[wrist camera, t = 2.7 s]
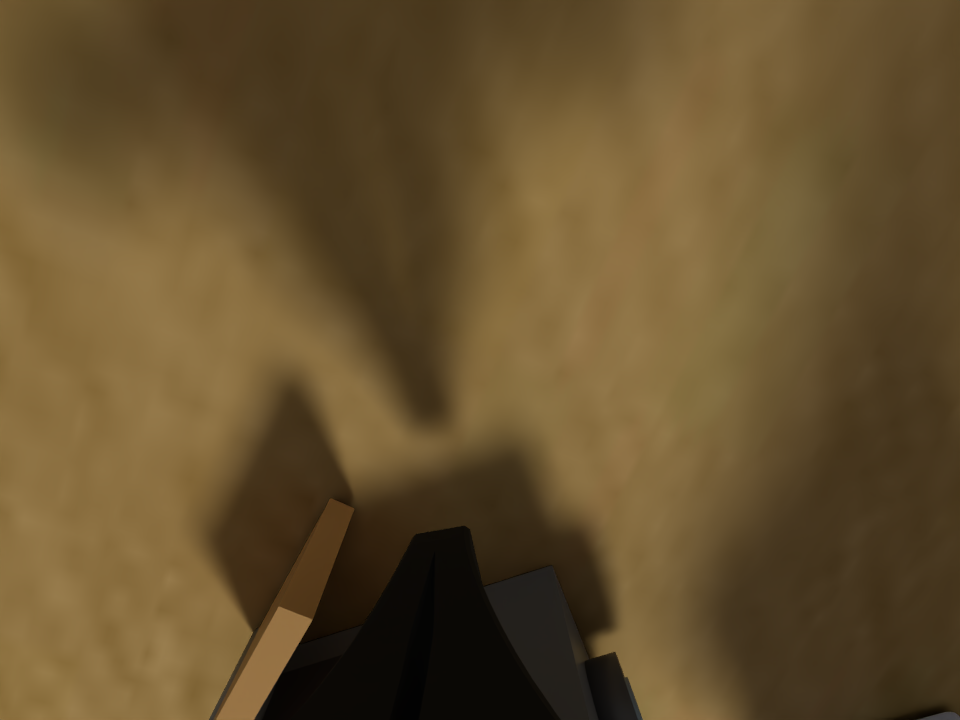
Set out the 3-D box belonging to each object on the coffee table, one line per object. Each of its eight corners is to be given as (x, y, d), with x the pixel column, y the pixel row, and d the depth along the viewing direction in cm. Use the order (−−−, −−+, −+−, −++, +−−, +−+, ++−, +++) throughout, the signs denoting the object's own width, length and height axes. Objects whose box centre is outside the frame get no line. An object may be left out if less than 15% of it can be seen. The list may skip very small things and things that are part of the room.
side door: (328, 494, 14) (272, 608, 10) (358, 508, 14) (315, 625, 10) (247, 642, 16) (172, 789, 12) (275, 652, 16) (211, 801, 12)
